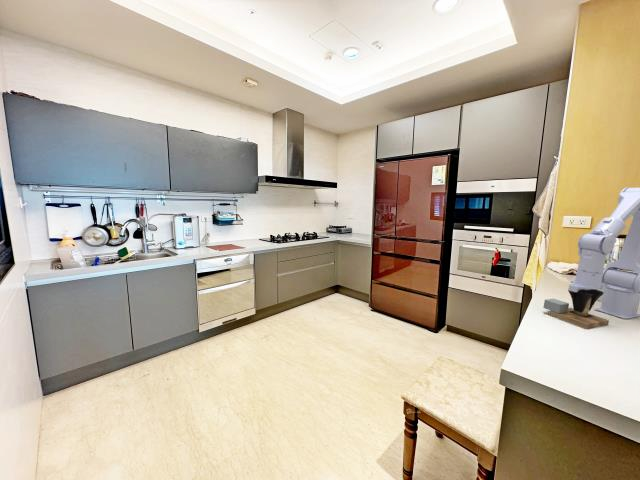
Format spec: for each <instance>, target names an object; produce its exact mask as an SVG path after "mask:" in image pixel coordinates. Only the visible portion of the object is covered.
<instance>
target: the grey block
mask: <svg viewBox="0 0 640 480" xmlns="http://www.w3.org/2000/svg"><path fill="white" fill-rule="evenodd" d="M568 308H570V303H569V302H566V301H562V300H559V299H556V298H548V299H544V303H543V309H545V310H548V311H554V312H556V313H564V312H568Z"/></svg>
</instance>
